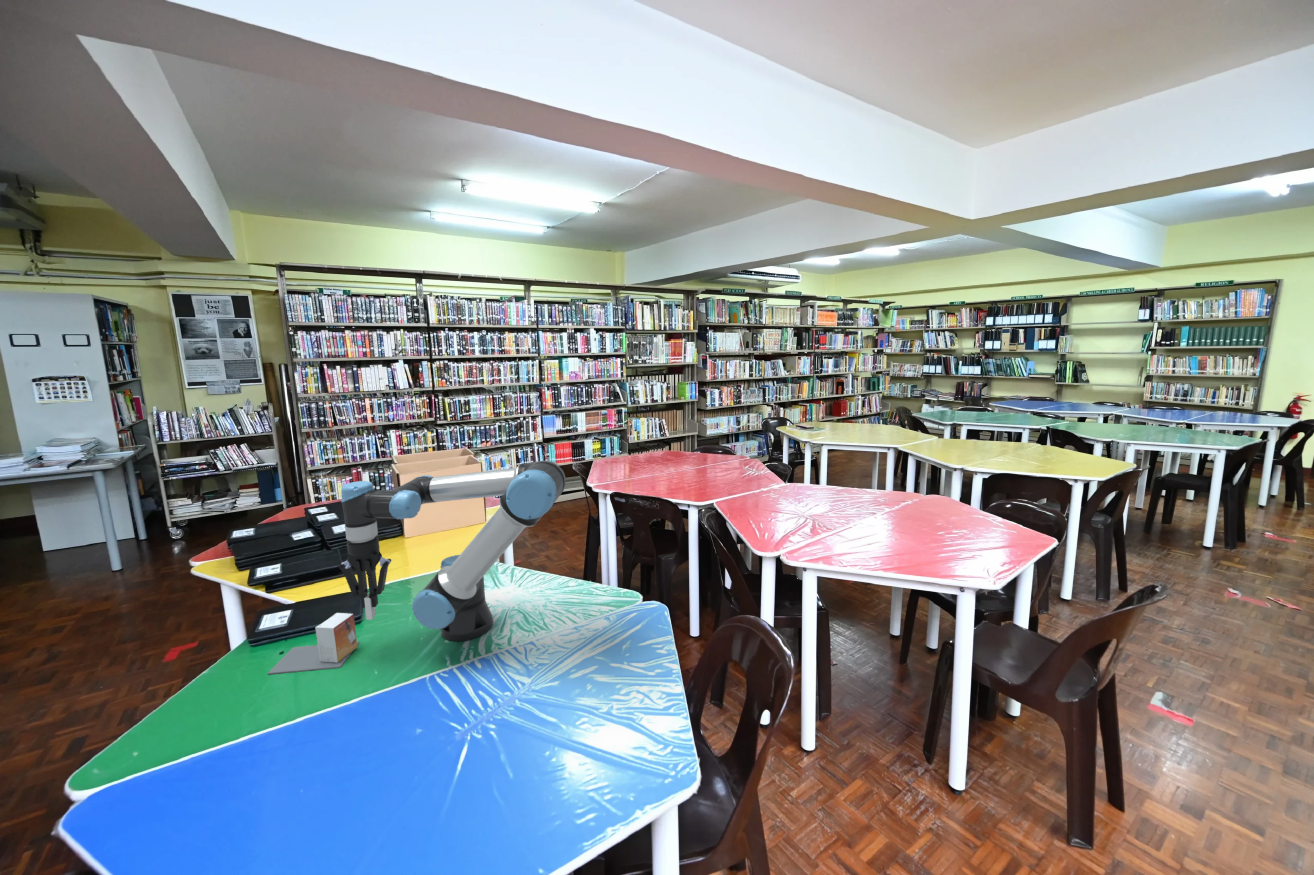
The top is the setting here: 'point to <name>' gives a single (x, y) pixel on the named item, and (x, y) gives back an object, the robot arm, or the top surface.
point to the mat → (304, 661)
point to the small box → (336, 637)
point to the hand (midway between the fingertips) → (371, 617)
